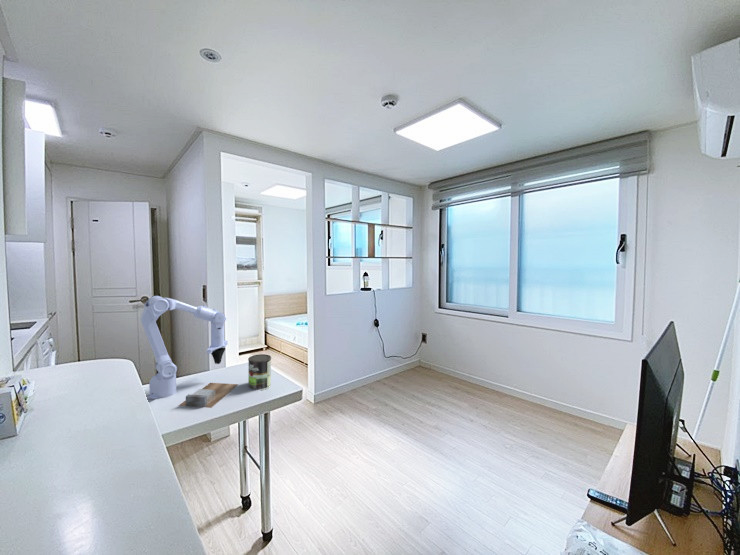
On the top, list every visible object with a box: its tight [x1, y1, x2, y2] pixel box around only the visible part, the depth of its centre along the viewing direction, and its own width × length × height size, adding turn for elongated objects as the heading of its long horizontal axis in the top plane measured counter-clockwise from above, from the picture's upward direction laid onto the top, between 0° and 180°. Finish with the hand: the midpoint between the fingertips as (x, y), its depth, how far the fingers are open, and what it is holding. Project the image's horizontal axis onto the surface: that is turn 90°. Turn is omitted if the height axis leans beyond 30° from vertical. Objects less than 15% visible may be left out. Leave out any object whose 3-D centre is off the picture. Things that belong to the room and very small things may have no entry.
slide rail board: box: [178, 382, 239, 409], centre depth 133 cm, size 14×22×5 cm, turn 176°
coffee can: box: [247, 353, 272, 391], centre depth 144 cm, size 10×10×14 cm
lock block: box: [191, 388, 215, 404], centre depth 127 cm, size 7×6×3 cm
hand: (217, 363), depth 147 cm, fingers closed
